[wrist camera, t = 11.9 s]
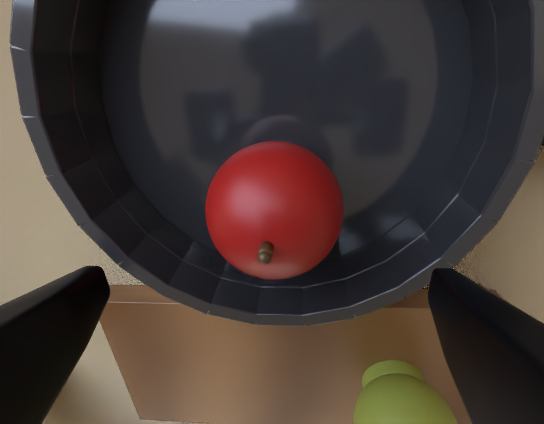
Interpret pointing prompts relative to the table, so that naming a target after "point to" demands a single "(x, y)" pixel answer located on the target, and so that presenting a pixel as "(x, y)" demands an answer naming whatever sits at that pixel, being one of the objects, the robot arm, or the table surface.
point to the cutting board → (263, 361)
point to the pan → (284, 132)
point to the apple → (274, 210)
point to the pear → (399, 397)
